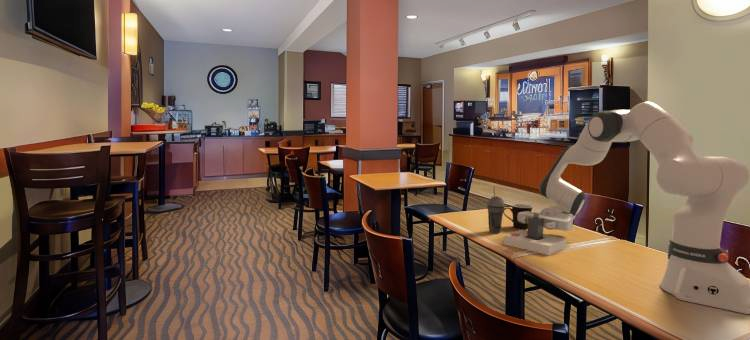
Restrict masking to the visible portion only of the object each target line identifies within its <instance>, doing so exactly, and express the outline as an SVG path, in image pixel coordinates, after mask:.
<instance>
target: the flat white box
mask: <svg viewBox="0 0 750 340" xmlns="http://www.w3.org/2000/svg"><path fill="white" fill-rule="evenodd" d="M527 233H528V229H526V230H521V229H518V230H516V231H512V232H511V233H507V234H504V236H503V245H505V246H510V247H514V248H518V249H523V250H525V249H526V251H530V252H533V253H539V254H542V255H545V256H550V255H552V254H555V253H557V252H559V251H562V250H563V249H566V244H567V239H566V238H562V237H559V236H554V235H549V234H544V233H543V239H541V240H534V239H529V238H527Z"/></svg>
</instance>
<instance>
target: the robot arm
mask: <svg viewBox="0 0 750 340" xmlns="http://www.w3.org/2000/svg"><path fill="white" fill-rule="evenodd" d="M635 141H637V142H641V144H643V146H644V147H645V148H646V149H647V150H648V151H649V153H650V154H651V155H652V156H653V157H654V159H655V160H656V161H657V164H658V168H657V172H656V182H657V185H658V186H659V188H660V190H662V191H663V192H664V193H667V194H670V195H674V196H679V197H683V198H684V197H687V199H686V200H685V203H684V204H683V205H682V206H681V207H680V208H679V209H678V210H677V211H676V212H675V214H674V215H673V221H672V229H671V231H672V232H671V239H670V240H669V241H668V246H667V248H668V249H667V259H668V260H667V264H666V265H667V266H666V269H665V271H664V272H665V273H664V274H663V277H662V279H661V282H660V284H659V287H660V288H661V289H662V290H663V291H665V292H667V293H669V294H671V295H672V296H674V297H675V298H676V299H678V300H680V301H683V302H689V303H693V304H697V305H698V304H699V305H704V306H707V307H713V308H717V309H723V310H727V311H730V312H731V311H732V312H736V313H741V314H744V315H745V314H746V315H750V281H749V279H748V278H747V277H745V275H744V274H742V273H741V272H740V271H738V270H737V269H736V268H734V267H733V266H732V265H731V264H730V263H729V262H728V260H729V250H728V249H726V250H725V248H723V247H721V238H722V232H723V225H724V220H725V217H726V214H727V212H728V210H729V208H730V206H731V204H732V202H733V200H734V199H735V197H736V196H737V194H738V193H739V192H741V191H742V190H743V189H744V188H746V186H747V185H748V183H749V181H750V172H749V171H750V170H749V169H748V167H747V166H746V165H745V164H744V163H743V162H741V160H739V159H738V160H737V159H734V158H731V157H726V156H703V155H701V154H699V153H697V152H696V151H695V149H694V148H693V143H694V136H693V135H692V133H691V132H690V131H688V130H687V128H685V127H684V126H683V125H682V124H681V122H679V121H678V120H677V119H676V118H675V117H674V116H673V115H672V114H670V113H669V112H668V111H666V110H665V109H664V108H663V107H661V106H659V105H658V104H656V103H654V102H651V101H643V102H640V103H638V104H636V105H634V106H633V107H632V108H631V109H613V110H603V111H598V112H595V113H594V114H593V115H591V117H590V118H589V120H588V121H587V123H586V124H585V126H584V127H583V129H582V131H581V133H580V134H579V137H578V139H577V141H576V143H575V144H573V145H568V146H567V147H565V149H564V150H562V152H561V153H560V154H559V156H558V157H557V158H556V160H555V162H554V164H553V165H552V167H551V168H550V169H549V171H548V172H547V174H546V175H545V176H544V178H543V179H542V180H541V182H540V184H539V186H538V189H539V193H540V195H541V196H542V197H543V198H545V199H548V200H550V201H551V202H554V204H556V205H553V206H548V207H546V208H543V209H541V211H540V212H538V213H539V217H540V218H544V226H543V229H546V230H551V231H552V230H558V231H563V232H567V231H571V230H573V224H574V219H576V216H578V215H579V214H580V213H581V211H582V210H583V209H584V207H585V205H586V202H587V201H586V200H587V199H586V193H585V192H584V191H583V190H581V189H579V188H577V187H576V186H574V185H573V184H571V183H570V182H567V181H565V180H564V179H563V178H562V177H561V175H562V174H563V172H564V171H565V169H566V168H567V166H568V165H569V164H573V165H579V166H588V167H589V166H595V165H597V164H600V163H601V162H603V160H604V159H605V158H606V157H607V154H608V153H609V151H610V148H611V146H612V143H628V142H629V143H630V142H635ZM534 212H535V211H531V212H530V211H525V212H519V213H518V221H519V222H521V223H525V224H526V223H528V218H530V217H534Z"/></svg>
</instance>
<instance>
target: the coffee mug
mask: <svg viewBox="0 0 750 340" xmlns="http://www.w3.org/2000/svg"><path fill="white" fill-rule="evenodd" d="M506 210H510V212H511V213H512V218H511V217H510V216H508V215H507V214H506V213H505V211H506ZM525 211H530V212H533V206H532V205H529V204H526V203H525V204H523V203H513V204H512V205H511V207H508V206H507V207H504V211H503V215H504V216H505V218H507V219H509V220H510V221H511V222H512V225H513V226H512V228H513V229H517V230H528V223H526V224H525V223H521V222H519V221H518V213H519V212H525Z"/></svg>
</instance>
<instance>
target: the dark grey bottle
mask: <svg viewBox="0 0 750 340" xmlns="http://www.w3.org/2000/svg"><path fill="white" fill-rule="evenodd" d="M533 212H534V217H530V218H528V229H527V231H528V233H527V238H529V239H534V240H541V239H543V234H544V227H543V226H544V218H540V217H539V213H540V212H537V211H533Z"/></svg>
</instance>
